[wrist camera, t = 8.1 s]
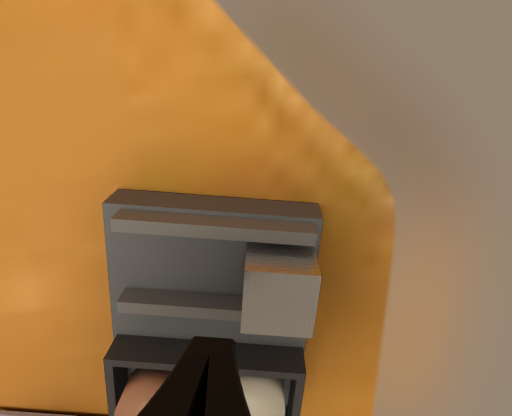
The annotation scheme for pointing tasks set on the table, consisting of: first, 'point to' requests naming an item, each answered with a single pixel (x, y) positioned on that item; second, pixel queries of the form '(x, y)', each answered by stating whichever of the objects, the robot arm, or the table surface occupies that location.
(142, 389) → the terracotta button
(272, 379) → the cream button
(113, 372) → the control panel
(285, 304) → the slider knob
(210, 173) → the table surface
